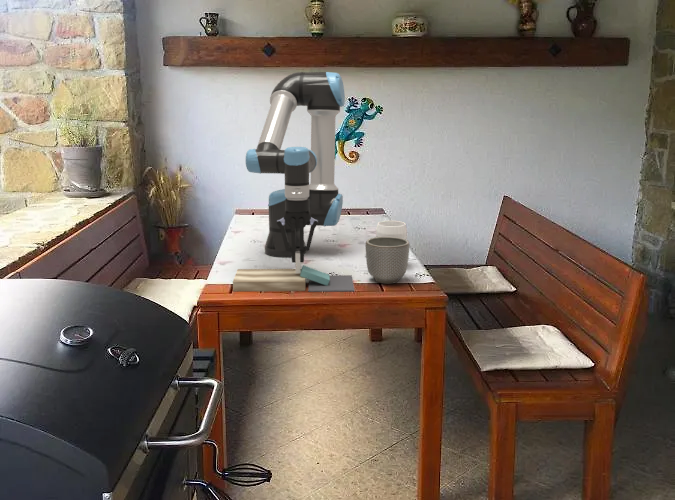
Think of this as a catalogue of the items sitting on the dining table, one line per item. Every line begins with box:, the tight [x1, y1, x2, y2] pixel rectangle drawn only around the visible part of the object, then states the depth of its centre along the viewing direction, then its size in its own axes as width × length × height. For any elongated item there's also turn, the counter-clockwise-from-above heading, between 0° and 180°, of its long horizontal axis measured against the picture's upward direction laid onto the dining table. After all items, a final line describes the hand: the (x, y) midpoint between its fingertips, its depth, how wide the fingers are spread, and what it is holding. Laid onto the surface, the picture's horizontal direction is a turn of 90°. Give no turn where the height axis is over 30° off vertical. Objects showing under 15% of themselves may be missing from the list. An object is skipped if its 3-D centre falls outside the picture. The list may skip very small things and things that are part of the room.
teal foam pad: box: [300, 264, 330, 286], centre depth 225 cm, size 9×6×2 cm, turn 92°
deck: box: [232, 268, 307, 292], centre depth 225 cm, size 14×22×3 cm, turn 92°
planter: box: [365, 236, 410, 285], centre depth 228 cm, size 14×14×13 cm
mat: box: [307, 274, 355, 293], centre depth 226 cm, size 16×14×1 cm
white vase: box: [375, 220, 408, 240], centre depth 244 cm, size 11×11×15 cm
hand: (298, 272), depth 225 cm, fingers closed
